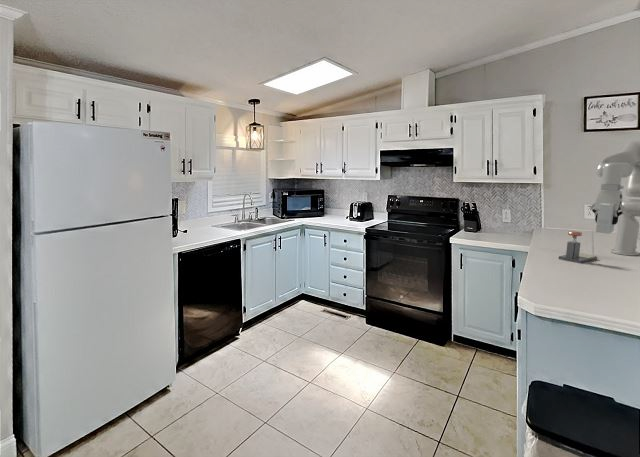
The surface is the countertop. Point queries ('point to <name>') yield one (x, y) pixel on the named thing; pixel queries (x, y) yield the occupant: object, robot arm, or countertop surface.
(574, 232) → the plunger
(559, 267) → the countertop surface
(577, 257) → the press base
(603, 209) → the skincare box
